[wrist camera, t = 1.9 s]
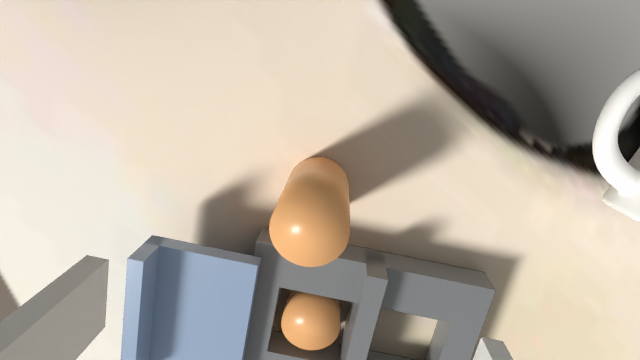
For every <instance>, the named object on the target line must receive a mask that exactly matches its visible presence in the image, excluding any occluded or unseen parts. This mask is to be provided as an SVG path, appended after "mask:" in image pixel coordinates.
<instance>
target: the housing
mask: <svg viewBox="0 0 640 360" xmlns="http://www.w3.org/2000/svg"><path fill="white" fill-rule="evenodd" d="M253 256H256V257H261V262H260V268H259V274H258V280H257V285H256V291H255V297H254V303H253V309H252V314H251V320H250V326H249V332H248V338H247V344H246V349H245V355H244V360H414V359H409V358H404V357H399V356H394V355H389V354H385V353H380V352H375V351H370V350H369V348H370V344H371V340H372V337H373V333H374V330H375V326H376V322H377V319H378V315H379V311H380V308H383V309H388V310H393V311H398V312H403V313H408V314H412V315H417V316H422V317H427V318H432V319H437V320H438V322H437V325H436V328H435V331H434V334H433V337H432V340H431V344H430V347H429V350H428V353H427V356H426V359H425V360H470V359H471V357H472V354H473V351H474V348H475V346H476V343H477V340H478V337H479V335H480V332H481V329H482V326H483V324H484V321H485V318H486V315H487V313H488V310H489V307H490V304H491V302H492V299H493V296H494V293H495V291H496V290H495V288H494V287H493V285H492V284H491V282H490V281H489V279H488V277H487V276H486V274H485V273H484V272H480V271H475V270H470V269H465V268H460V267H456V266H451V265H446V264H441V263H436V262H431V261H426V260H421V259H416V258H412V257H407V256H402V255H397V254H392V253H387V252H382V251H377V250H372V249H368V248H363V247H358V246H353V245H348V244H347V246H346V248H345V250H344V251H343V252H342V254H341V255H340V256H339V257H338V258H336V259H335V260H334V261H332V262H330V263H328V264H325V265H323V266H318V267H304V266H300V265H296V264H294V263H292V262H290V261H288V260H286V259H285V258H284V257H283V256H281V255H280V254H279V252H278V251H277V250H276V248H275V247H274V245H273V243H272V241H271V238H270V233H269V228H265V227H262V229H261V231H260V233H259V236H258V238H257V240H256V243H255V249H254V255H253ZM281 288H285V289H290V290H293V291H292V292H291V293H290V294H289V296H288V297H287V300H286V303H285V307H284V312H283V316H282V320H281V327H282V331H283V333H282V332H277V331H273V326H274V321H275V315H276V310H277V305H278V300H279V294H280V289H281ZM338 299H339V300H344V301H349V302H351V303H350V307H349V311H348V315H347V319H346V323H345V327H344V331H343V335H342V339H341V343H340V344H336V343H333V342H334V341H335V340H336V338H337V337H338V335H339V332H340V314H341V307H340V302H339V300H338Z"/></svg>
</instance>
